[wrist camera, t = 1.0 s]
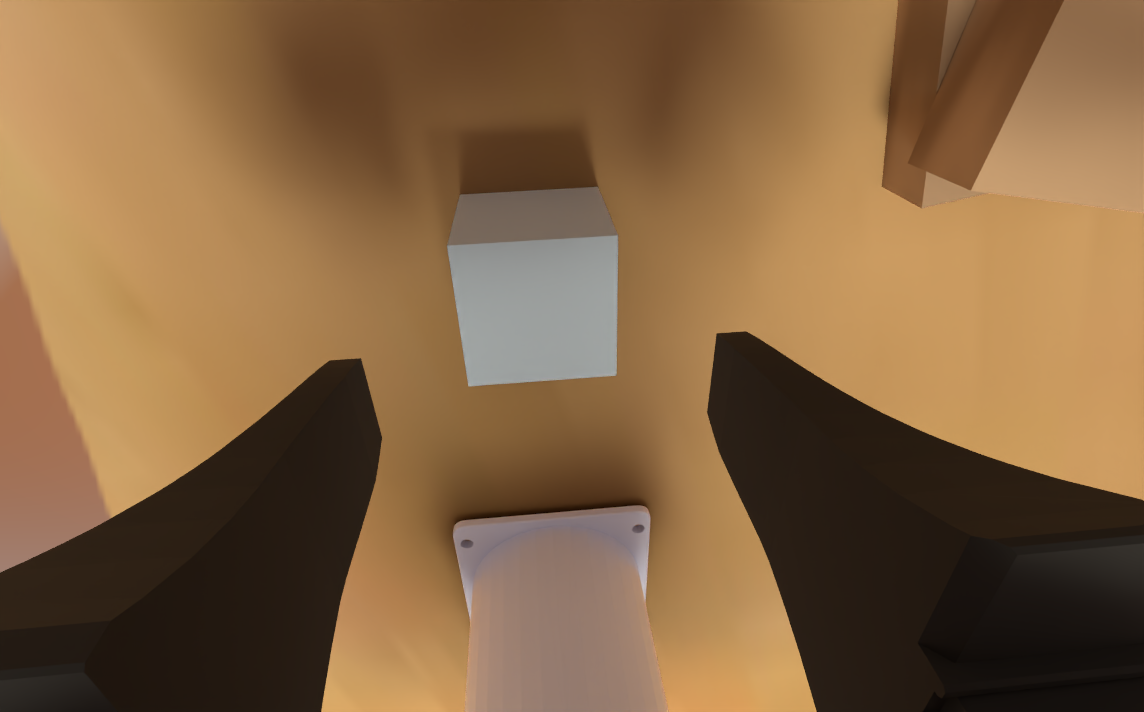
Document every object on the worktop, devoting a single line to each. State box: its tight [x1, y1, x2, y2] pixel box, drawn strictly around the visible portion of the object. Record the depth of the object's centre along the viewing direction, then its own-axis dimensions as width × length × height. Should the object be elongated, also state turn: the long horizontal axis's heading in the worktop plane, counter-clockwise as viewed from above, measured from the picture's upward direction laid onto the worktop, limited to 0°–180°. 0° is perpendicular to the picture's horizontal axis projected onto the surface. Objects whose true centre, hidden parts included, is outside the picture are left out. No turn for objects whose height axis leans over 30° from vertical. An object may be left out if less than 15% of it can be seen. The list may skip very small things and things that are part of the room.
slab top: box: [908, 0, 1144, 213], centre depth 13 cm, size 6×6×2 cm
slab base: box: [882, 0, 988, 208], centre depth 16 cm, size 6×6×2 cm
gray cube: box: [447, 187, 618, 386], centre depth 17 cm, size 4×4×4 cm
